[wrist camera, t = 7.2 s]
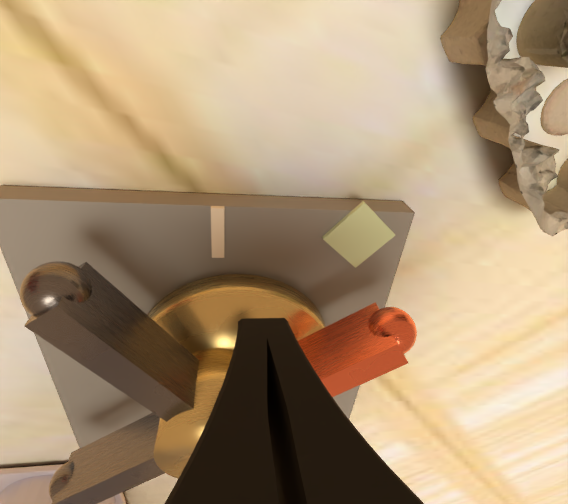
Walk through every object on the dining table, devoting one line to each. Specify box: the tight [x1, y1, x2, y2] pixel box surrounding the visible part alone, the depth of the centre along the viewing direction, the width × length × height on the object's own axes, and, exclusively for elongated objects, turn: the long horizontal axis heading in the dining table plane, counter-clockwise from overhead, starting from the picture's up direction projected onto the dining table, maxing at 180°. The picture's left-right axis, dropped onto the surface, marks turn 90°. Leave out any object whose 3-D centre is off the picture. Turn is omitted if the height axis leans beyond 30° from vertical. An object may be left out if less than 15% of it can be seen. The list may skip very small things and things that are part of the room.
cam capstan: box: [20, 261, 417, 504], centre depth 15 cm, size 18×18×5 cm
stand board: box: [0, 185, 415, 448], centre depth 18 cm, size 16×16×1 cm
